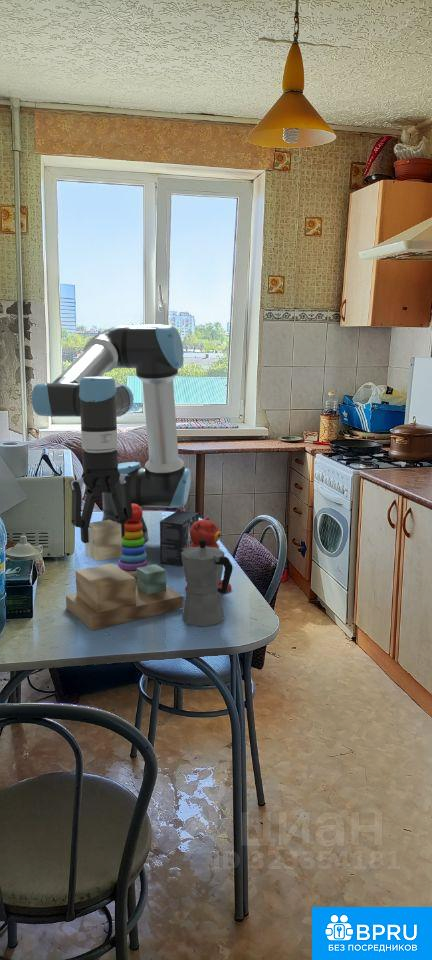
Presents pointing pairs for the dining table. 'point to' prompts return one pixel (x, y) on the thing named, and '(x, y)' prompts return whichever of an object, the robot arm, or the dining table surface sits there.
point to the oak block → (106, 540)
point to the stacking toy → (133, 544)
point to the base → (128, 611)
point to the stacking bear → (206, 538)
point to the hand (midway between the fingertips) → (103, 553)
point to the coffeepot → (204, 584)
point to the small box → (175, 536)
